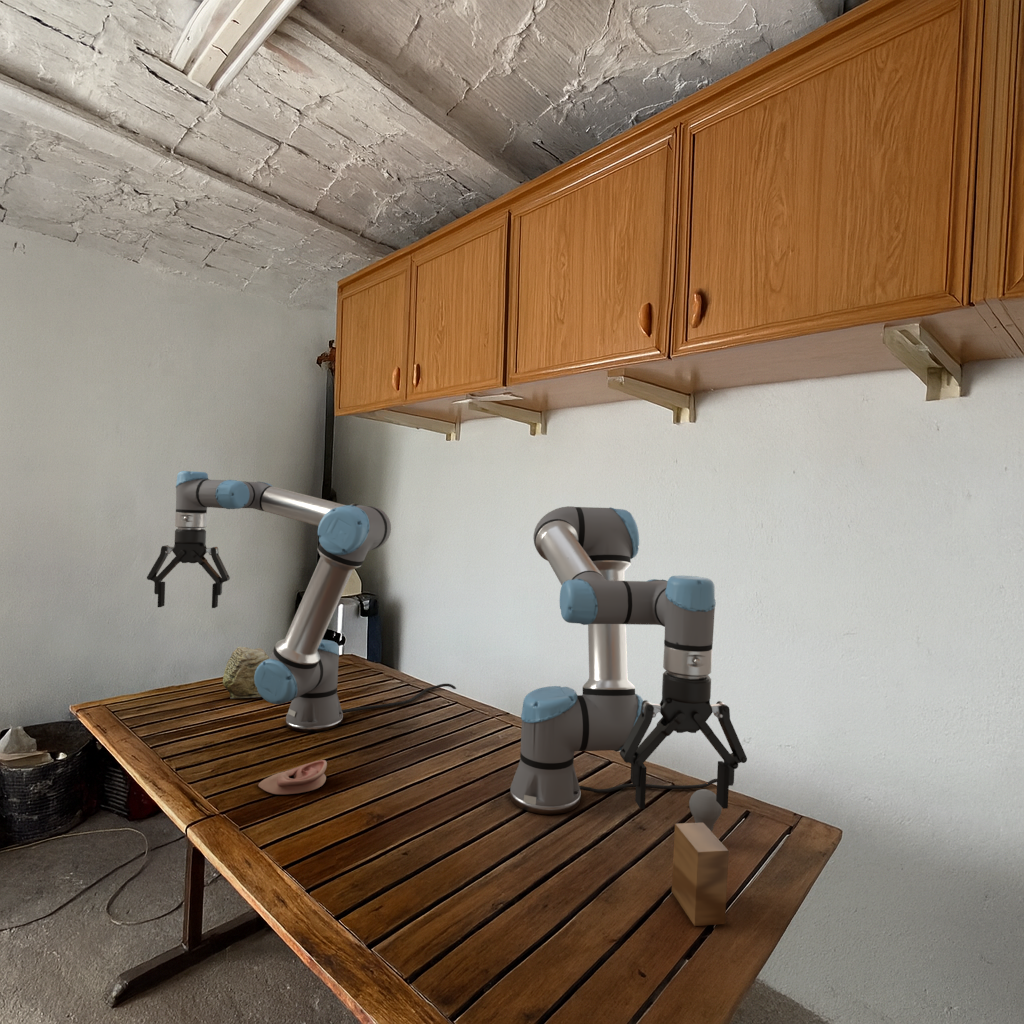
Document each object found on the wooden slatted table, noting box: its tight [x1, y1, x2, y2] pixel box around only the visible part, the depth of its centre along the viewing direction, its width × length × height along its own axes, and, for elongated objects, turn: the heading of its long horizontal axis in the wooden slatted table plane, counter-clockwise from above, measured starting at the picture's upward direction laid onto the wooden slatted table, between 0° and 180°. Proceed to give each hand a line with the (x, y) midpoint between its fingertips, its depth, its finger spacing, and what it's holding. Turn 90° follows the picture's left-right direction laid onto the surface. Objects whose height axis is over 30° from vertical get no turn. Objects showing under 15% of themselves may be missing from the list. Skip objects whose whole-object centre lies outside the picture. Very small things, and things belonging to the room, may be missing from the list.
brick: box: [671, 822, 730, 927], centre depth 102 cm, size 5×9×12 cm, turn 9°
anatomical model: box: [257, 759, 328, 795], centre depth 139 cm, size 13×4×12 cm
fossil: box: [222, 646, 270, 699], centre depth 198 cm, size 9×18×15 cm, turn 132°
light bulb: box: [688, 788, 723, 832], centre depth 122 cm, size 6×6×10 cm
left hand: (188, 607), depth 171 cm, fingers open, 13 cm apart
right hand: (681, 805), depth 102 cm, fingers open, 13 cm apart
